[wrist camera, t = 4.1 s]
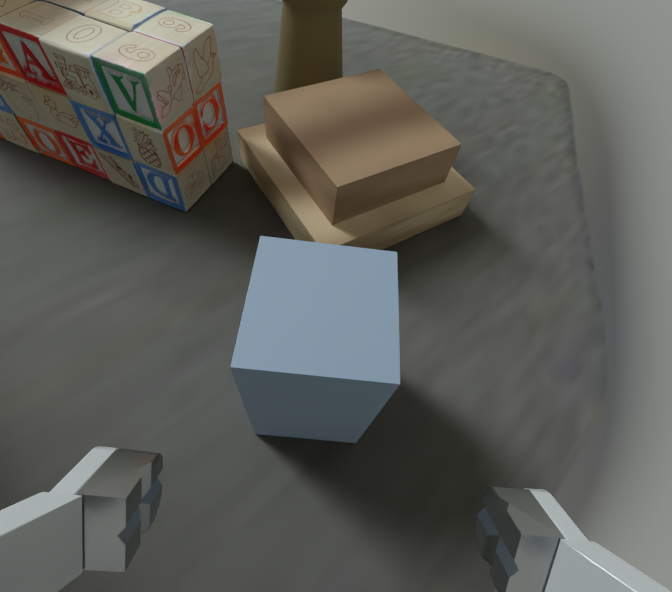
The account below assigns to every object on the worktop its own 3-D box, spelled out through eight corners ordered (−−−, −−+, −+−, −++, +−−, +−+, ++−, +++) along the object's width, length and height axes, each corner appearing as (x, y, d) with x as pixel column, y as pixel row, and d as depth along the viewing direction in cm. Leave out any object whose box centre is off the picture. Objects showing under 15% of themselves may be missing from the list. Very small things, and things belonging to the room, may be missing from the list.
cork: (315, 138, 31) (325, -30, 22) (258, 107, 32) (245, -64, 23) (356, 106, 34) (380, -54, 25) (302, 79, 35) (306, -83, 26)
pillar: (255, 433, 19) (230, 367, 11) (271, 341, 21) (260, 235, 14) (355, 443, 19) (400, 384, 11) (359, 350, 22) (397, 252, 14)
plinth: (241, 159, 29) (231, 88, 24) (371, 122, 33) (384, 54, 28) (320, 276, 24) (327, 215, 19) (461, 215, 28) (495, 152, 23)
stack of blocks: (236, 162, 29) (206, -47, 18) (187, 216, 26) (116, -1, 15) (9, 74, 32) (-131, -151, 21) (-62, 113, 28) (-267, -130, 18)
